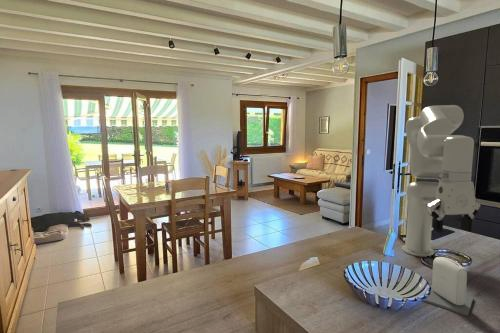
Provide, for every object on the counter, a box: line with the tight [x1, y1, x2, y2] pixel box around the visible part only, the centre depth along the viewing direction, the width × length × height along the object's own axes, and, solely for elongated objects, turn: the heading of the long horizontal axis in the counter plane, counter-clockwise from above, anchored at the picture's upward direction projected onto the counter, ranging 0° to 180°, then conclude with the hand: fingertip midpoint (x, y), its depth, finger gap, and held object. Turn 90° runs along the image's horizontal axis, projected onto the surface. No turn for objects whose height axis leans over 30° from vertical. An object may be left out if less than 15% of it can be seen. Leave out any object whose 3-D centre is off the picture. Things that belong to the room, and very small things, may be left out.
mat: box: [423, 284, 474, 317], centre depth 95 cm, size 12×12×1 cm
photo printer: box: [431, 256, 468, 305], centre depth 95 cm, size 10×4×12 cm, turn 11°
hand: (451, 230), depth 94 cm, fingers open, 9 cm apart
